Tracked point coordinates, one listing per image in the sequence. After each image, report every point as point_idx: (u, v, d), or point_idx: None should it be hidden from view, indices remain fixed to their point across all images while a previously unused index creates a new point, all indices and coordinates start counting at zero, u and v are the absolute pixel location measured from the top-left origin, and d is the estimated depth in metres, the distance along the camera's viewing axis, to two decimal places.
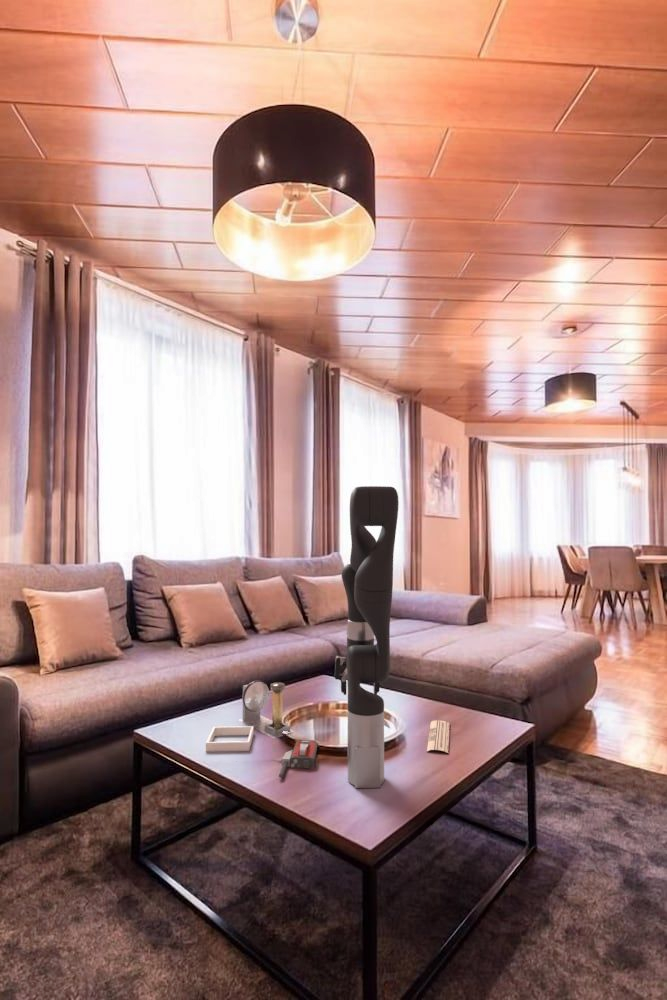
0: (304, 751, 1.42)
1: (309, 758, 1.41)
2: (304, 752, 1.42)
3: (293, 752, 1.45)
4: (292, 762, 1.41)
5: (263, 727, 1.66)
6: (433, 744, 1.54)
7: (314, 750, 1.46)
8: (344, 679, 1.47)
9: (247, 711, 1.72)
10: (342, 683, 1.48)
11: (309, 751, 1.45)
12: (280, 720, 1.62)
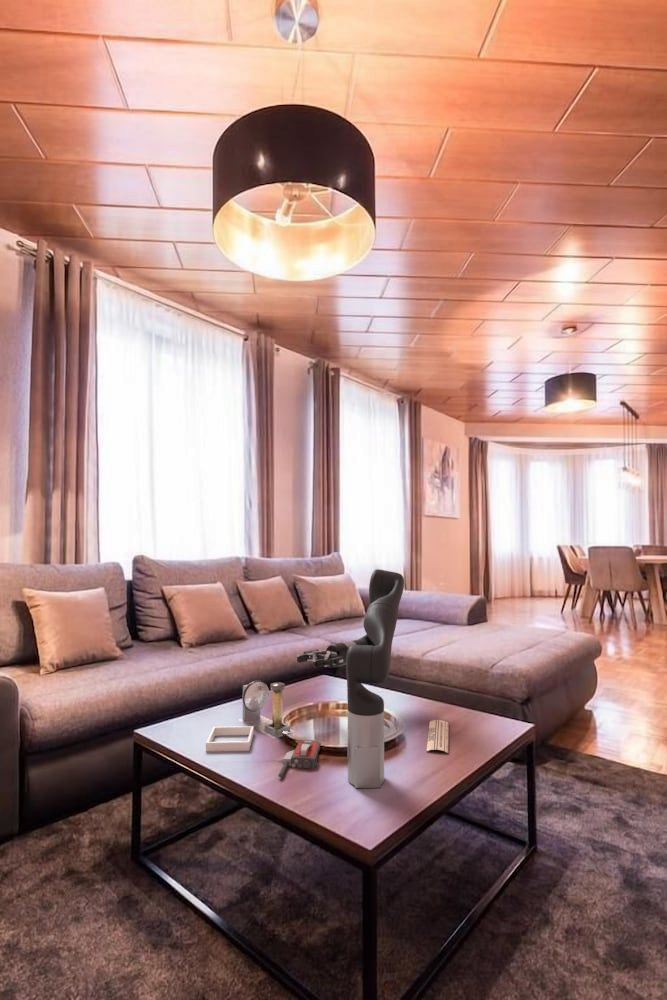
0: (305, 751, 1.42)
1: (310, 758, 1.41)
2: (305, 752, 1.42)
3: (295, 752, 1.45)
4: (293, 762, 1.41)
5: (263, 727, 1.66)
6: (432, 743, 1.54)
7: (316, 750, 1.46)
8: (307, 653, 1.78)
9: (247, 711, 1.72)
10: None
11: (310, 751, 1.45)
12: (280, 720, 1.62)
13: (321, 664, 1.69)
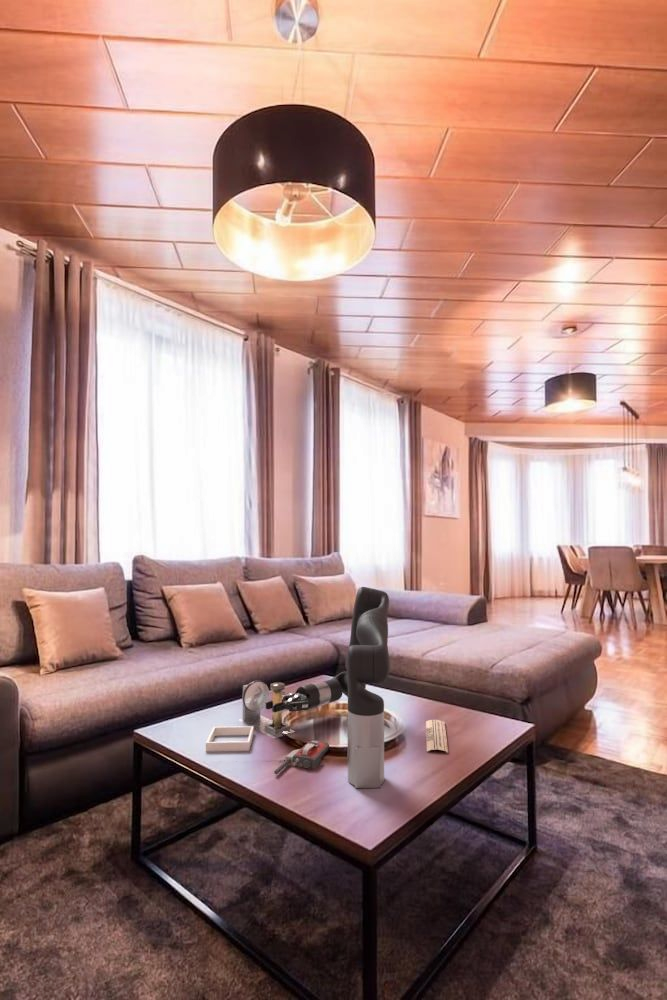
0: (307, 751, 1.42)
1: (310, 759, 1.41)
2: (306, 752, 1.42)
3: (299, 751, 1.45)
4: (294, 760, 1.42)
5: (263, 727, 1.66)
6: (432, 743, 1.54)
7: (320, 751, 1.45)
8: None
9: (247, 711, 1.72)
10: None
11: (314, 752, 1.44)
12: (280, 720, 1.62)
13: (280, 708, 1.61)
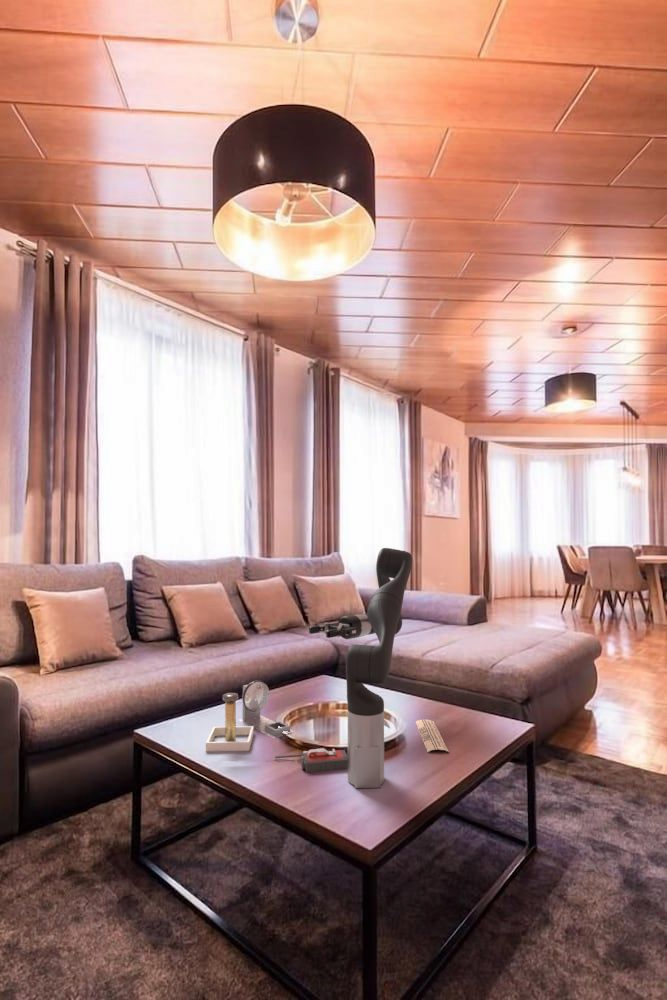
0: (309, 753, 1.41)
1: (305, 760, 1.40)
2: (308, 754, 1.41)
3: None
4: None
5: (263, 727, 1.66)
6: (430, 743, 1.54)
7: (325, 760, 1.40)
8: (319, 624, 1.76)
9: (247, 711, 1.72)
10: None
11: (318, 757, 1.41)
12: (233, 733, 1.54)
13: (334, 634, 1.67)
